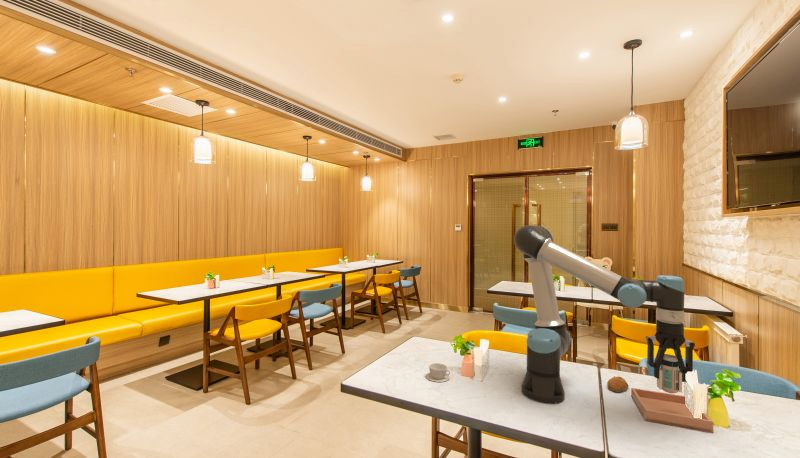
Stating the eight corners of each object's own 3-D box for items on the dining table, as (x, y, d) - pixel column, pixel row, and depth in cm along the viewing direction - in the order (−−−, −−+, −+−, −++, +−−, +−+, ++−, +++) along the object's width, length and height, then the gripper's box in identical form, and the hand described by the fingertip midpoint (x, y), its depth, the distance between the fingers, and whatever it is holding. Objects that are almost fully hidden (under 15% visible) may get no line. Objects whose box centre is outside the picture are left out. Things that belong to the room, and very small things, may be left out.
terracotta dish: (645, 421, 114) (645, 410, 114) (631, 397, 130) (631, 387, 130) (712, 433, 107) (713, 421, 107) (688, 406, 124) (688, 396, 124)
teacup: (422, 380, 142) (423, 368, 142) (429, 371, 151) (430, 360, 151) (446, 384, 138) (446, 373, 138) (452, 375, 147) (452, 364, 147)
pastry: (623, 395, 131) (623, 385, 131) (603, 390, 136) (603, 380, 136) (629, 388, 138) (629, 378, 138) (610, 382, 143) (610, 373, 143)
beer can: (674, 389, 120) (675, 354, 120) (680, 395, 116) (681, 359, 116) (658, 386, 122) (658, 352, 122) (663, 392, 117) (663, 357, 117)
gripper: (642, 321, 118) (641, 389, 118) (707, 326, 112) (706, 398, 112) (636, 316, 125) (635, 380, 125) (697, 321, 119) (696, 389, 119)
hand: (669, 388), depth 119 cm, fingers closed on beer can, 5 cm apart
